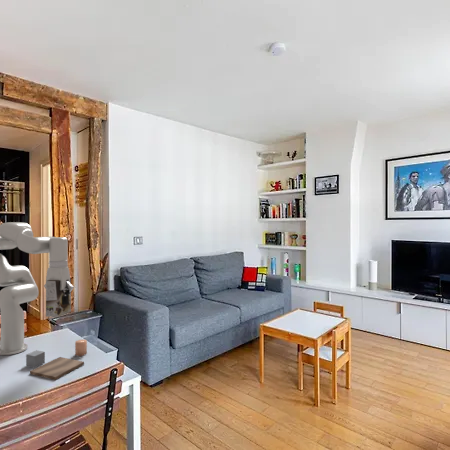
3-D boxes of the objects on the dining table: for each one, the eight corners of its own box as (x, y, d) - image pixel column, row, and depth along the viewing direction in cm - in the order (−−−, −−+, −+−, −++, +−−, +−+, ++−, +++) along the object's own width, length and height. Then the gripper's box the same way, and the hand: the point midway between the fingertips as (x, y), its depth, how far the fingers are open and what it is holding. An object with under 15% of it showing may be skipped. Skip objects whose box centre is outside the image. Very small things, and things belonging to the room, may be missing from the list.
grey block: (26, 365, 140) (26, 354, 140) (36, 361, 144) (36, 350, 144) (34, 367, 138) (34, 356, 138) (44, 363, 143) (44, 351, 143)
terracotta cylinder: (72, 355, 151) (72, 342, 151) (80, 351, 156) (81, 338, 156) (81, 356, 150) (81, 343, 150) (89, 352, 154) (89, 340, 154)
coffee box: (58, 317, 140) (58, 280, 140) (45, 316, 141) (45, 280, 141) (71, 311, 149) (71, 277, 149) (59, 311, 150) (59, 277, 150)
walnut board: (29, 374, 132) (29, 371, 132) (59, 359, 146) (59, 356, 146) (55, 380, 127) (55, 377, 127) (83, 364, 141) (83, 361, 141)
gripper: (36, 264, 144) (37, 304, 144) (67, 266, 139) (67, 307, 139) (50, 262, 151) (50, 300, 151) (80, 264, 146) (80, 303, 146)
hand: (58, 303), depth 145 cm, fingers closed on coffee box, 7 cm apart
